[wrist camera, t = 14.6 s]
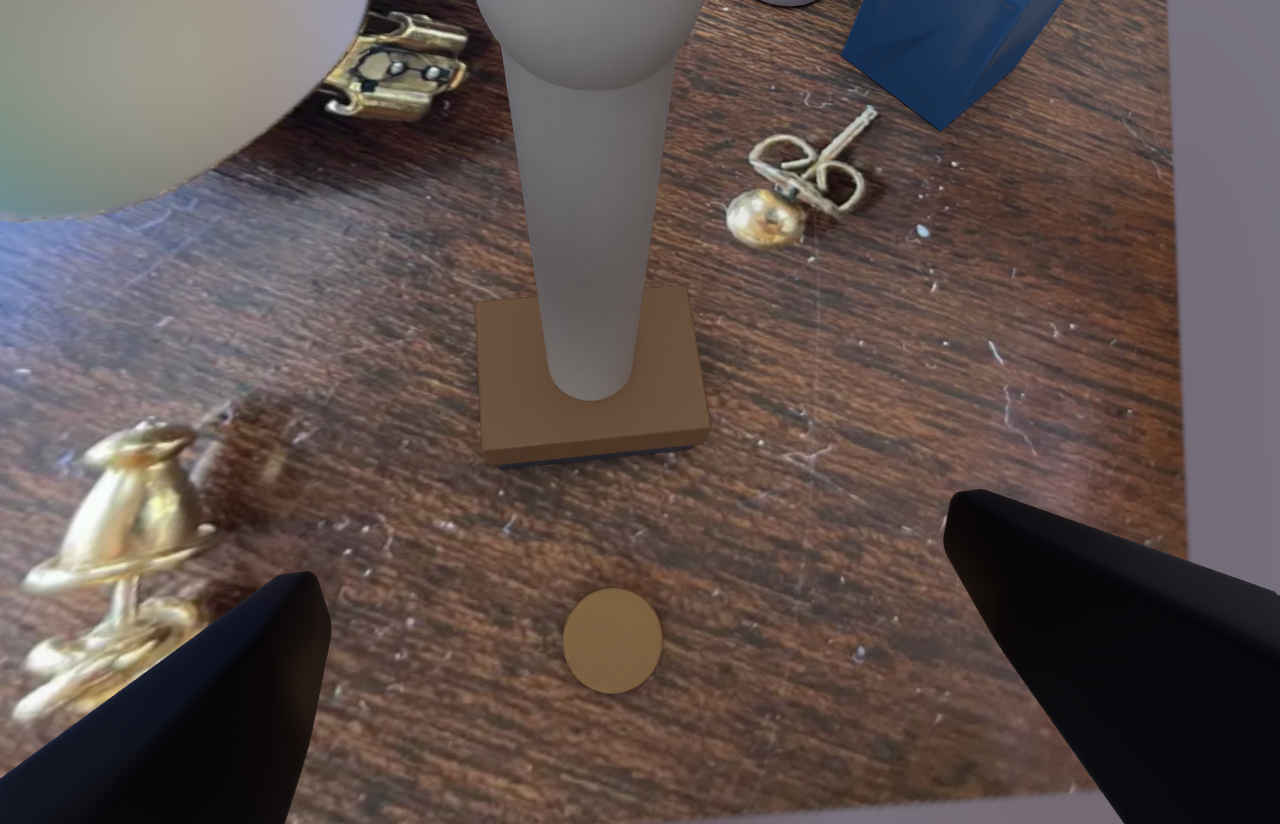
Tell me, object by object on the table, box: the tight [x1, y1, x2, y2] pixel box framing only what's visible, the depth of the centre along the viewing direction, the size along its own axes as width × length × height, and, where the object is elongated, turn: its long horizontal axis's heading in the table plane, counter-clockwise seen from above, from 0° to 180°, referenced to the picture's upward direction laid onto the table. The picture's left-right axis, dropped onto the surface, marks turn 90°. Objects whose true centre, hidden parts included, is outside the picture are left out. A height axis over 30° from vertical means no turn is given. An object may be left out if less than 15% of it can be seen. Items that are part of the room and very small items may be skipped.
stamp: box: [475, 0, 712, 469], centre depth 16 cm, size 5×7×18 cm
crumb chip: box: [563, 588, 663, 694], centre depth 21 cm, size 3×3×1 cm
